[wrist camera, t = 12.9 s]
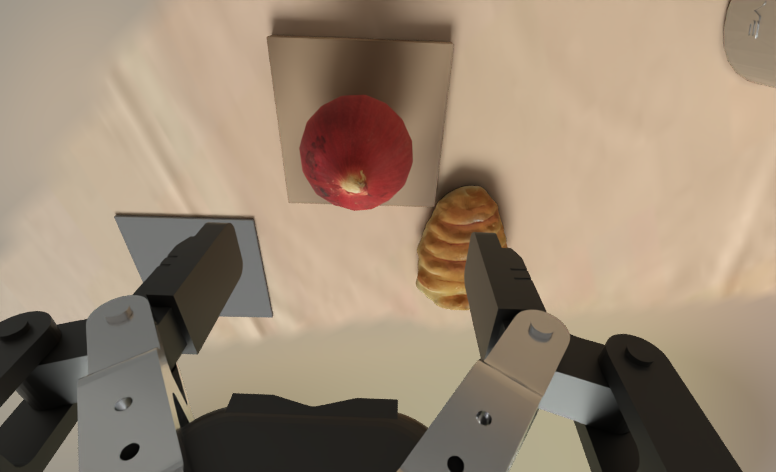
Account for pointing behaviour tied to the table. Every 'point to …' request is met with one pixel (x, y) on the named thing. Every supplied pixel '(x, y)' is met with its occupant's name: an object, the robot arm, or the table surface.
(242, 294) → the mat
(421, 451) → the robot arm
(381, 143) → the onion
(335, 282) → the table surface
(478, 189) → the pastry
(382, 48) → the beige coaster
